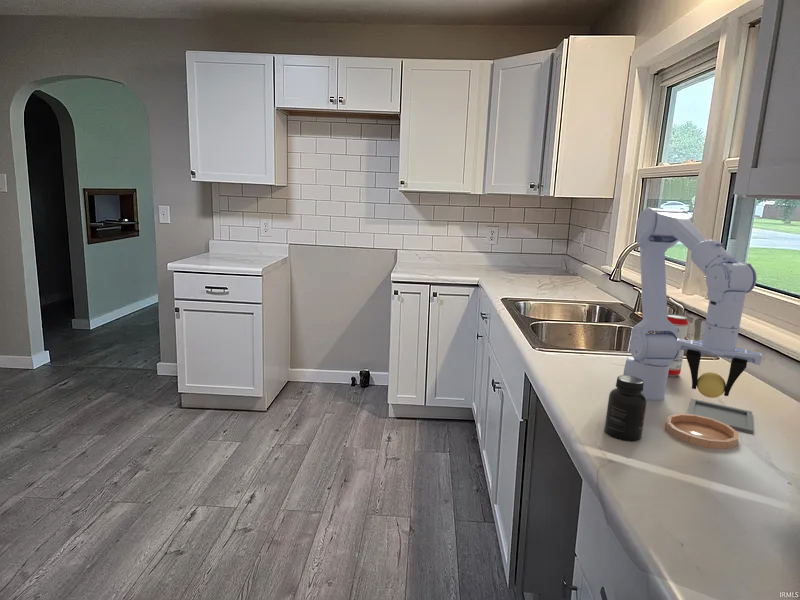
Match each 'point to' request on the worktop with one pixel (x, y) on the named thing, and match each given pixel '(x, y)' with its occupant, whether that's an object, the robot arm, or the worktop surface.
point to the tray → (723, 414)
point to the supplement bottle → (626, 409)
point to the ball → (711, 385)
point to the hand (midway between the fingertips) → (709, 391)
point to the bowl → (702, 431)
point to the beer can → (682, 328)
